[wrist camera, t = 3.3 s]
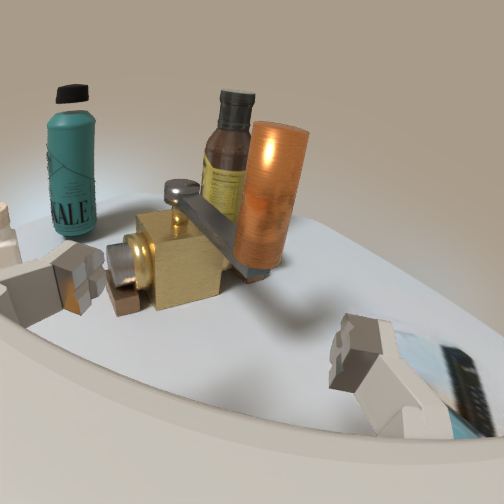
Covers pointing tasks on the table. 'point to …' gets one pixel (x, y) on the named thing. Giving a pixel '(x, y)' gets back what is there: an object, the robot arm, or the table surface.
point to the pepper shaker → (8, 240)
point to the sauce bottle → (228, 153)
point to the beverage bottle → (72, 164)
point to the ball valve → (164, 263)
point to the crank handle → (252, 200)
